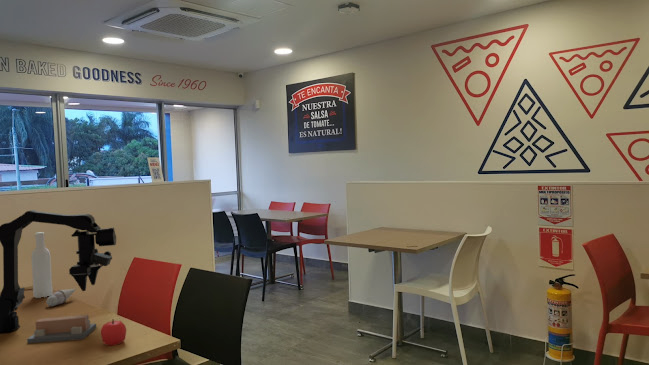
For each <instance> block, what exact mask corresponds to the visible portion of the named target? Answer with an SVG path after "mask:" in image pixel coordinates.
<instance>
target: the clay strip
mask: <svg viewBox="0 0 649 365" xmlns="http://www.w3.org/2000/svg"><path fill="white" fill-rule="evenodd" d="M89 320H90V318H89V314H79V315H70V316H68V315H67V316H58V317H46V318H38V319H37V320H36V321H35V330H36V329H46V334H50V333H61V332H71V328H72V327H79V326H82V331H83V330H87V329H88V328H89Z"/></svg>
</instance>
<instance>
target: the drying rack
mask: <svg viewBox="0 0 649 365" xmlns="http://www.w3.org/2000/svg"><path fill="white" fill-rule="evenodd" d="M96 328H97V323H91V320H90V319H89V328H88V329H87V330H83V331H82V326H79V327H72V328H71V332H61V333H50V334H46V329H36V328H35V330H34V331H33V334H32V335H31V336H29V337H27V339H26V341H27V342H26V343H27V344H35V343H48V342H49V343H50V342H62V341H66V342H67V341H77V340H84V339H85V338H87V337H88V336H89V335H90V334H91V333H92V332H93V331H94V330H95V329H96Z"/></svg>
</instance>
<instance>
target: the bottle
mask: <svg viewBox="0 0 649 365" xmlns="http://www.w3.org/2000/svg"><path fill="white" fill-rule="evenodd" d="M34 238H35V248H34V250H32V251H31V252H32V253H31V271H32V272H31V275H32V294H33V298H34V297H35V298H34V299H42V298H41V297H44V298H48V297H47V296H49V297H50V296H52V294H53V293H54V292H53V291H54V290H53V277H52V276H53V275H52V259H51V257H52V256H51V253H50V250H49V249H48V248H47V247H46V243H45V242H46V240H45V232H44V231H42V232H41V231H39V232H35V235H34Z"/></svg>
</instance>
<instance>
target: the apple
mask: <svg viewBox="0 0 649 365" xmlns="http://www.w3.org/2000/svg"><path fill="white" fill-rule="evenodd" d="M126 334H127V328H126V325H125V323H124V322H122V320H114V318H112V320H111V321H108V322H106V323H104V324H103V325H102V327H101V329H100V336H101V339H102V340H101V341H102V342H103V344H104V345H107V346H116V345H117V346H118V345H120V344H121V343H123V342H124V341H125V340H126V336H127V335H126Z"/></svg>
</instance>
